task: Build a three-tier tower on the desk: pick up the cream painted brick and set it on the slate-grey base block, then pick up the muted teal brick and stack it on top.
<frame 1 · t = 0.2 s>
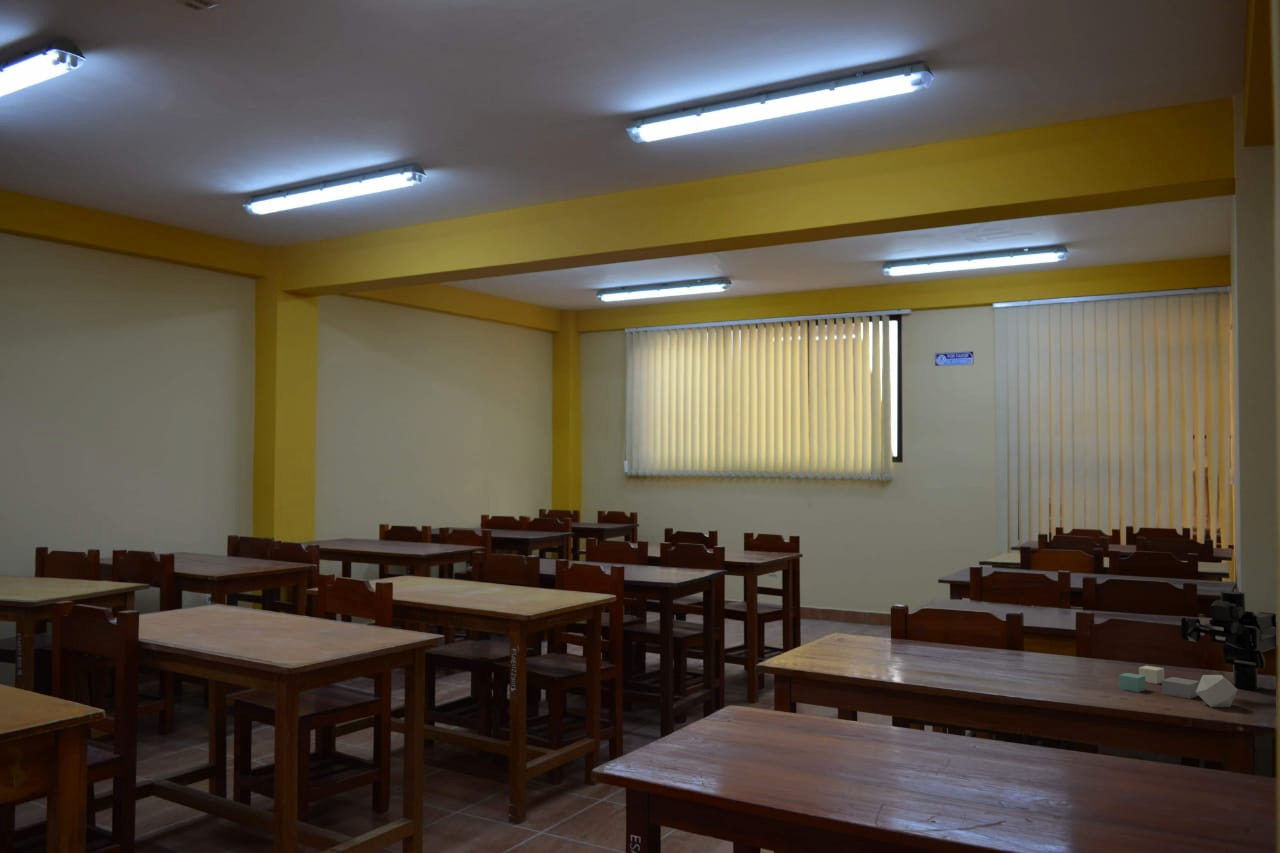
hand: (1206, 637, 248), 17 cm above the table, tool horizontal, fingers open, 9 cm apart
teal brick: (1132, 689, 260), on the table
die: (1216, 706, 242), on the table
cream brick: (1151, 681, 270), on the table
base block: (1181, 695, 254), on the table
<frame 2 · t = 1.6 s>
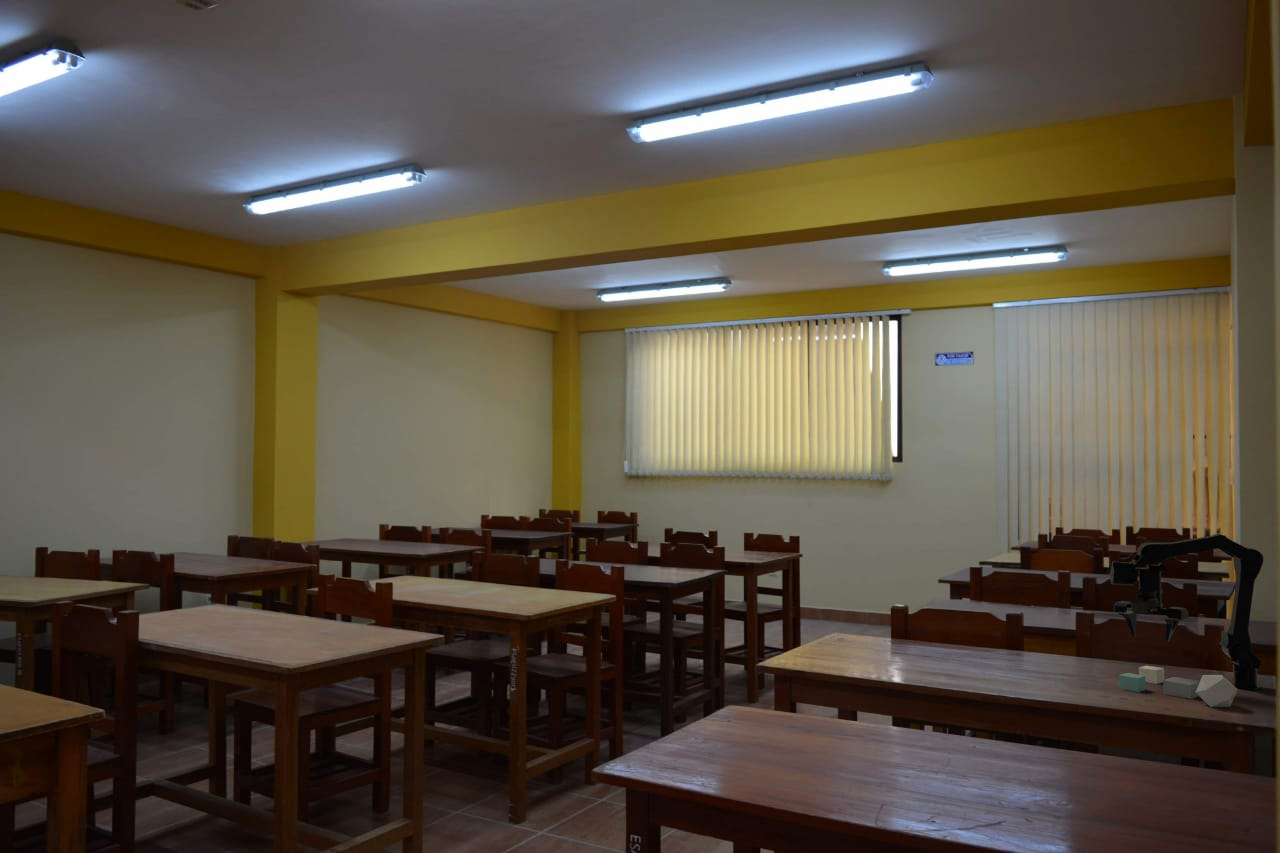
hand: (1150, 639, 271), 12 cm above the table, tool pointing down, fingers open, 9 cm apart
nothing on the table moved.
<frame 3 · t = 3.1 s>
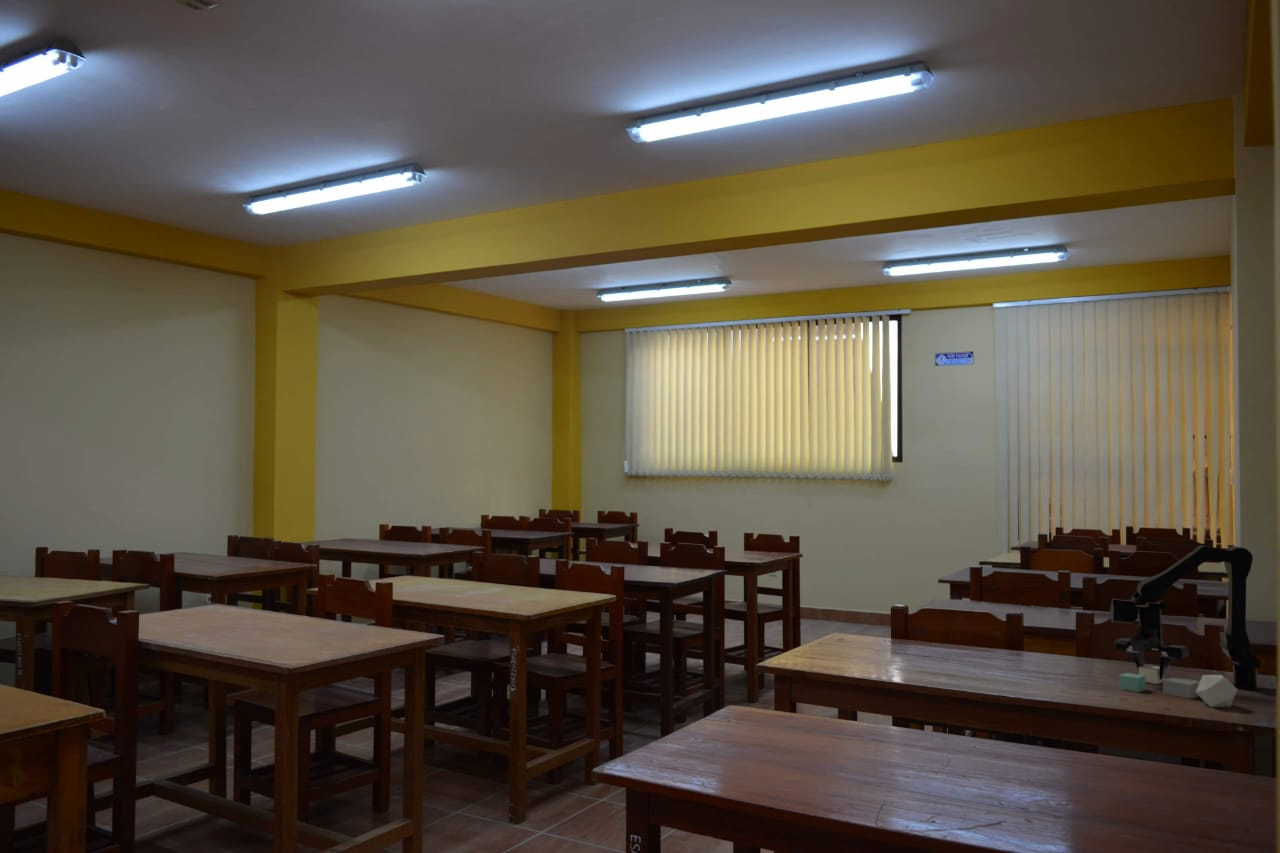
hand: (1151, 677, 270), 1 cm above the table, tool pointing down, fingers closed on cream brick, 5 cm apart
cream brick: (1151, 681, 270), on the table, touching gripper
everything else where it was.
when the fingers open (6 cm above the table, at t = 6.7 s): cream brick drops 2 cm, resting on base block.
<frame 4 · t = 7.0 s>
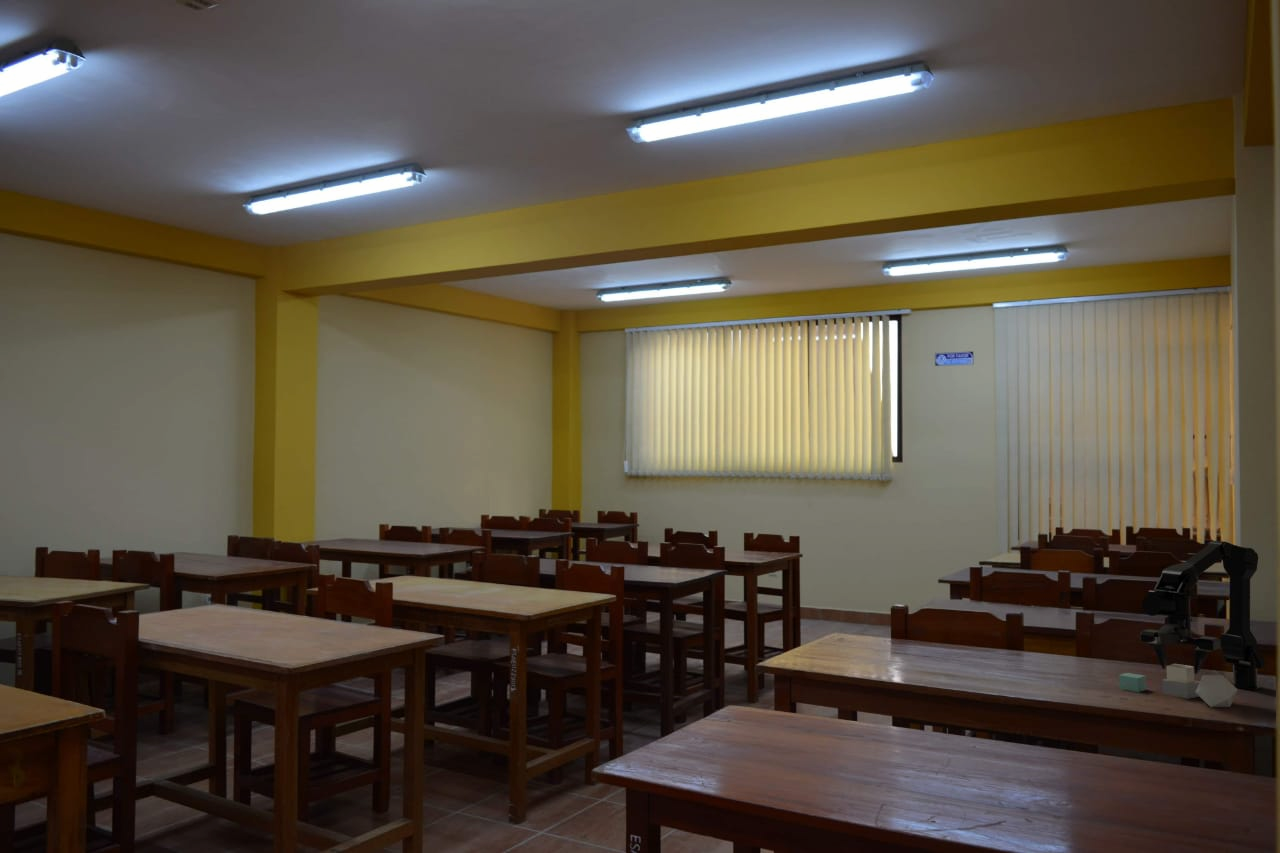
hand: (1180, 671, 254), 6 cm above the table, tool pointing down, fingers open, 8 cm apart
cream brick: (1180, 680, 254), point 4 cm above the table, touching base block
base block: (1182, 695, 254), on the table, touching cream brick
everything else where it was.
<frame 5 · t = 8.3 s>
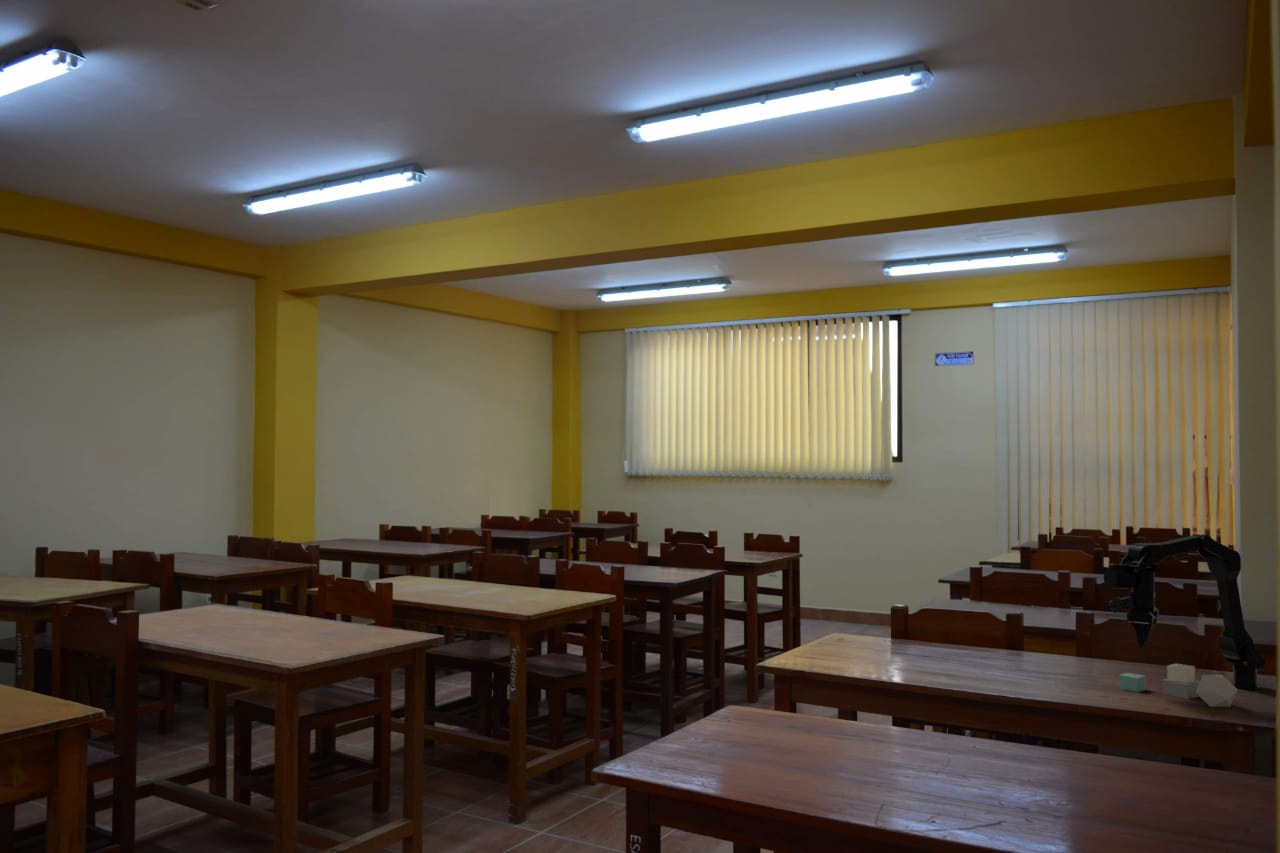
hand: (1143, 644, 259), 13 cm above the table, tool pointing down, fingers open, 9 cm apart
nothing on the table moved.
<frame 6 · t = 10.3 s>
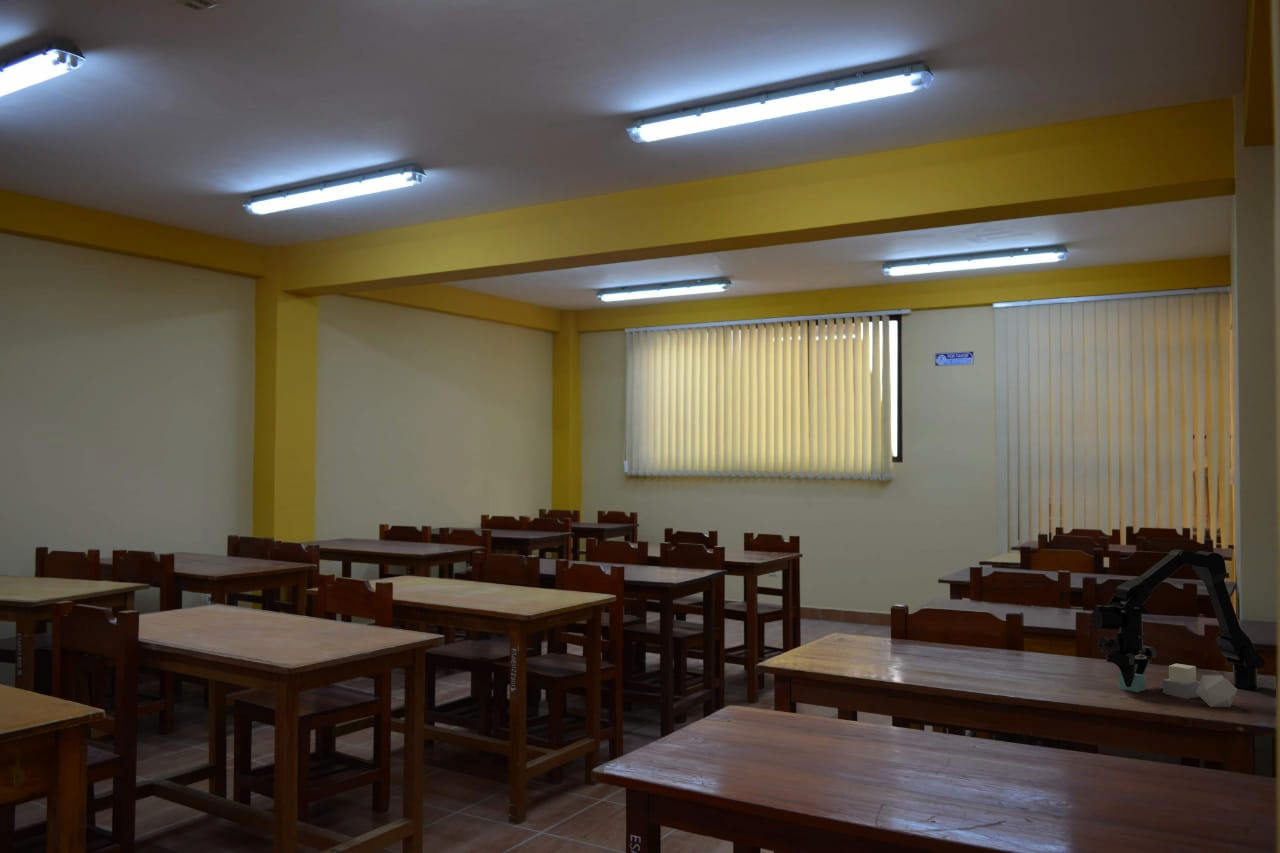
hand: (1132, 685, 260), 1 cm above the table, tool pointing down, fingers closed on teal brick, 5 cm apart
teal brick: (1132, 689, 260), on the table, touching gripper
everything else where it was.
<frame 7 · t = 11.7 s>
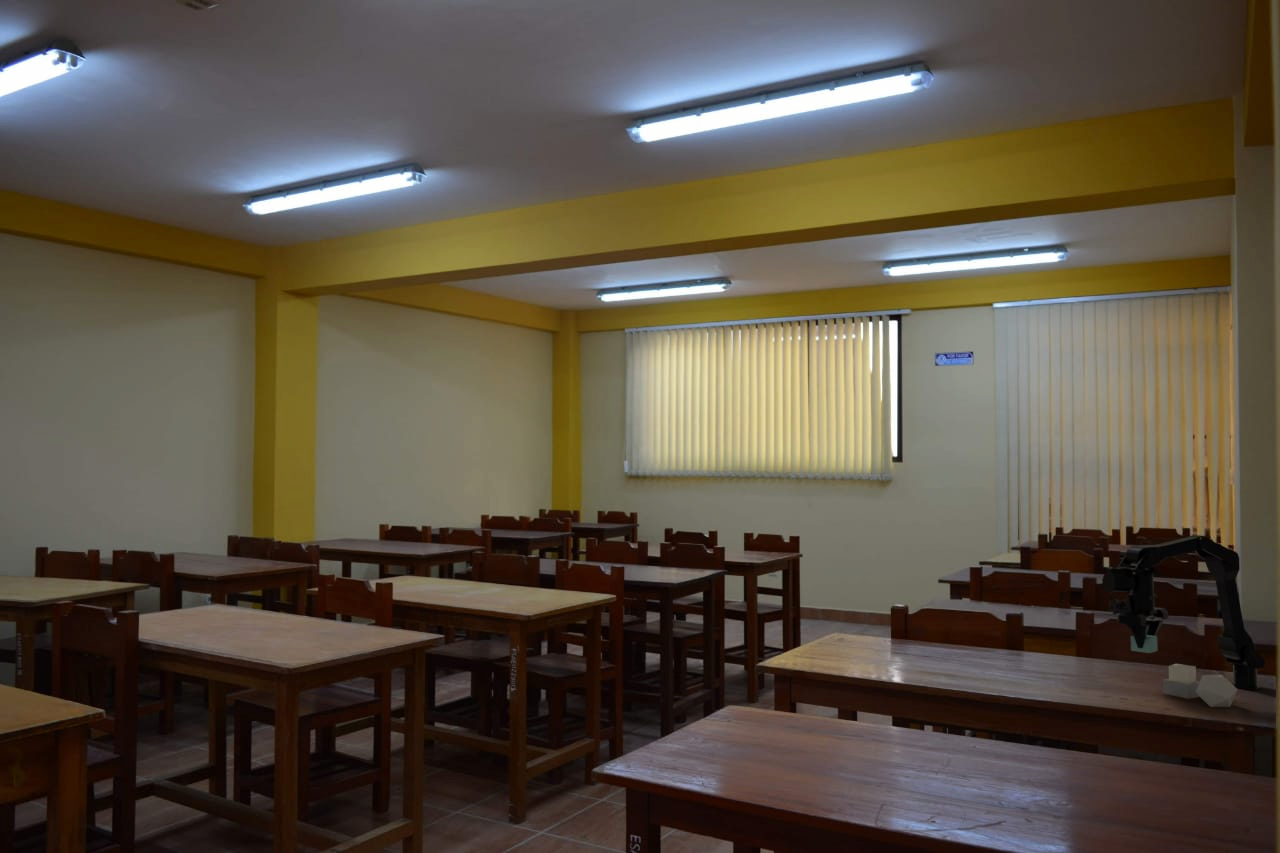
hand: (1144, 646, 259), 12 cm above the table, tool pointing down, fingers closed on teal brick, 5 cm apart
teal brick: (1144, 650, 259), point 11 cm above the table, touching gripper
everything else where it was.
when the fingers open (10 cm above the table, at t = 13.2 s): teal brick drops 2 cm, resting on cream brick.
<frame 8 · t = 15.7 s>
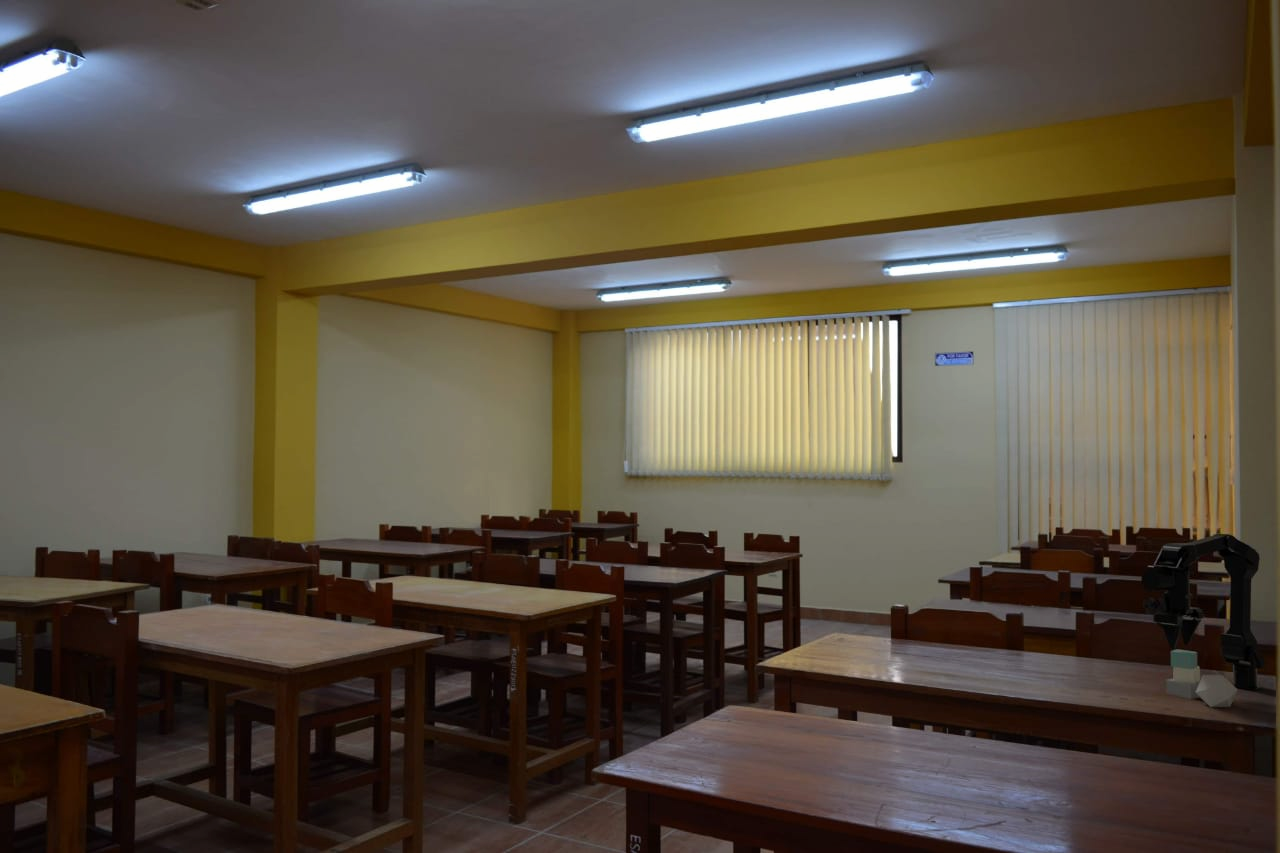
hand: (1179, 646, 255), 13 cm above the table, tool pointing down, fingers open, 9 cm apart
teal brick: (1184, 666, 254), point 8 cm above the table, touching cream brick
cream brick: (1186, 681, 254), point 4 cm above the table, touching base block, teal brick
everything else where it was.
at the end: cream brick 0.4 cm off-centre on the base block, point 4.0 cm above the base block's base; teal brick 0.2 cm off-centre on the base block, point 8.0 cm above the base block's base; teal brick tilted 1° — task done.
